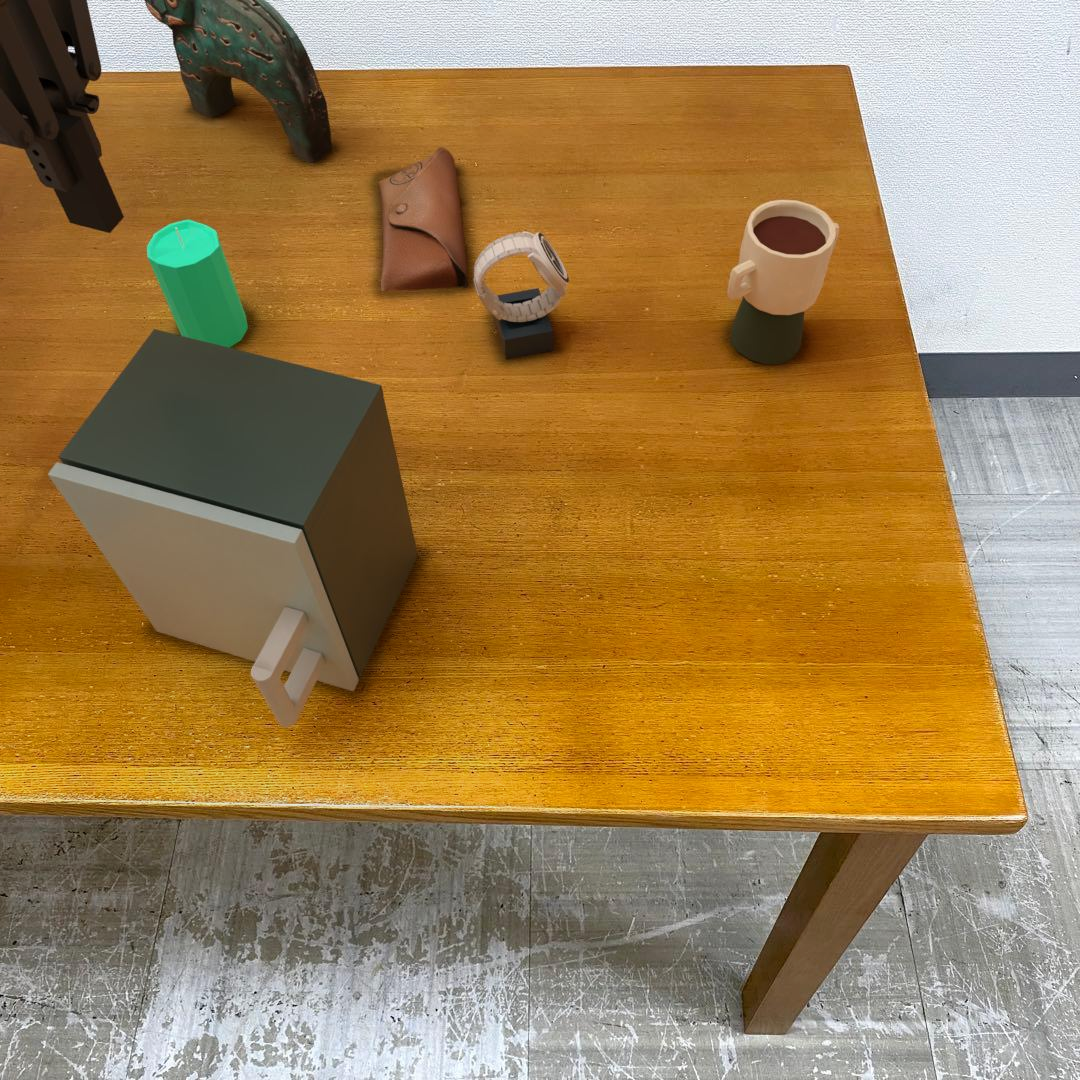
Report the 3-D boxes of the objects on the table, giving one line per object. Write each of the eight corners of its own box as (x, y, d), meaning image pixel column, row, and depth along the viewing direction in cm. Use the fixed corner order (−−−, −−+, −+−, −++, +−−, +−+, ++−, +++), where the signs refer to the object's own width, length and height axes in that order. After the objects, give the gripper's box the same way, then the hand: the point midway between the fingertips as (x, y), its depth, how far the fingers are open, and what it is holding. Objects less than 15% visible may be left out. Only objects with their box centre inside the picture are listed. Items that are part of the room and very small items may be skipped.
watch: (574, 352, 91) (576, 255, 82) (486, 368, 90) (478, 272, 81) (559, 309, 94) (559, 211, 85) (474, 324, 93) (465, 227, 84)
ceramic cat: (176, 115, 112) (109, -78, 95) (219, 86, 115) (161, -106, 98) (309, 179, 105) (263, -15, 89) (351, 147, 108) (313, -47, 91)
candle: (222, 366, 91) (180, 262, 81) (170, 343, 92) (123, 238, 82) (263, 324, 94) (228, 218, 84) (212, 302, 95) (172, 196, 85)
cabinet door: (324, 760, 70) (251, 621, 54) (121, 695, 73) (-7, 545, 57) (360, 682, 73) (302, 529, 57) (165, 623, 76) (56, 461, 60)
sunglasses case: (372, 177, 104) (398, 124, 100) (434, 200, 108) (462, 150, 103) (379, 299, 94) (408, 246, 90) (448, 320, 98) (479, 271, 93)
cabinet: (361, 681, 73) (303, 525, 57) (167, 621, 76) (57, 456, 60) (419, 559, 79) (381, 385, 62) (236, 508, 82) (154, 328, 65)
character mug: (786, 298, 94) (815, 179, 84) (837, 345, 91) (874, 228, 80) (691, 343, 91) (708, 226, 81) (739, 394, 88) (764, 279, 77)
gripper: (-169, -190, 35) (88, 310, 55) (50, -321, 42) (210, 166, 62) (-336, -219, 37) (-27, 278, 57) (-98, -341, 44) (104, 141, 63)
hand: (97, 219), depth 59 cm, fingers closed
